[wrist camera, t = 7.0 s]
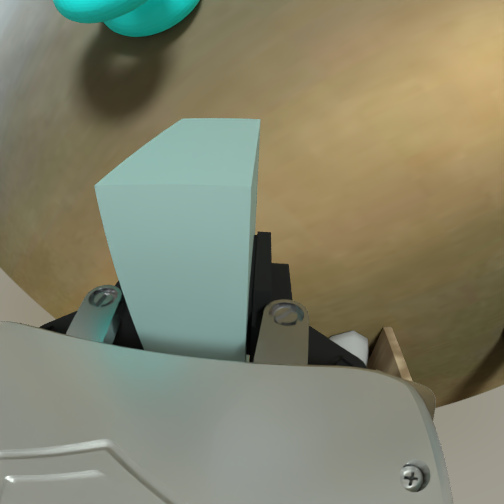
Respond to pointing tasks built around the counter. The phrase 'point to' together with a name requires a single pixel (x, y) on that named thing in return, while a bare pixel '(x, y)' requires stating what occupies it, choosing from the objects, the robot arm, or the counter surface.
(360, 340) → the flask
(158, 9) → the donuts
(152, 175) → the block
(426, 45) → the counter surface
